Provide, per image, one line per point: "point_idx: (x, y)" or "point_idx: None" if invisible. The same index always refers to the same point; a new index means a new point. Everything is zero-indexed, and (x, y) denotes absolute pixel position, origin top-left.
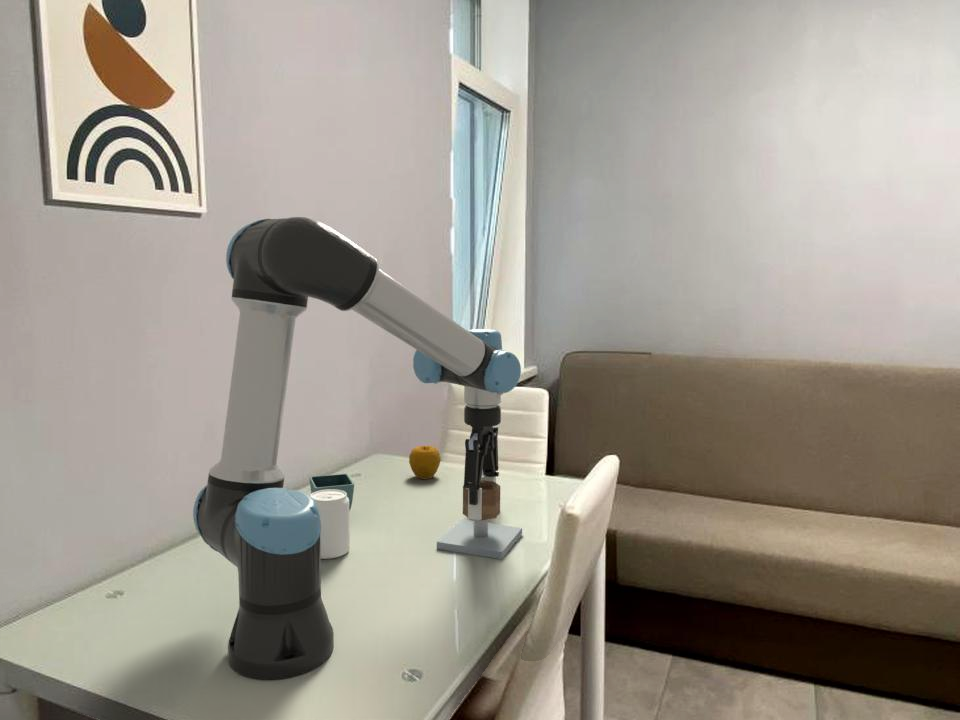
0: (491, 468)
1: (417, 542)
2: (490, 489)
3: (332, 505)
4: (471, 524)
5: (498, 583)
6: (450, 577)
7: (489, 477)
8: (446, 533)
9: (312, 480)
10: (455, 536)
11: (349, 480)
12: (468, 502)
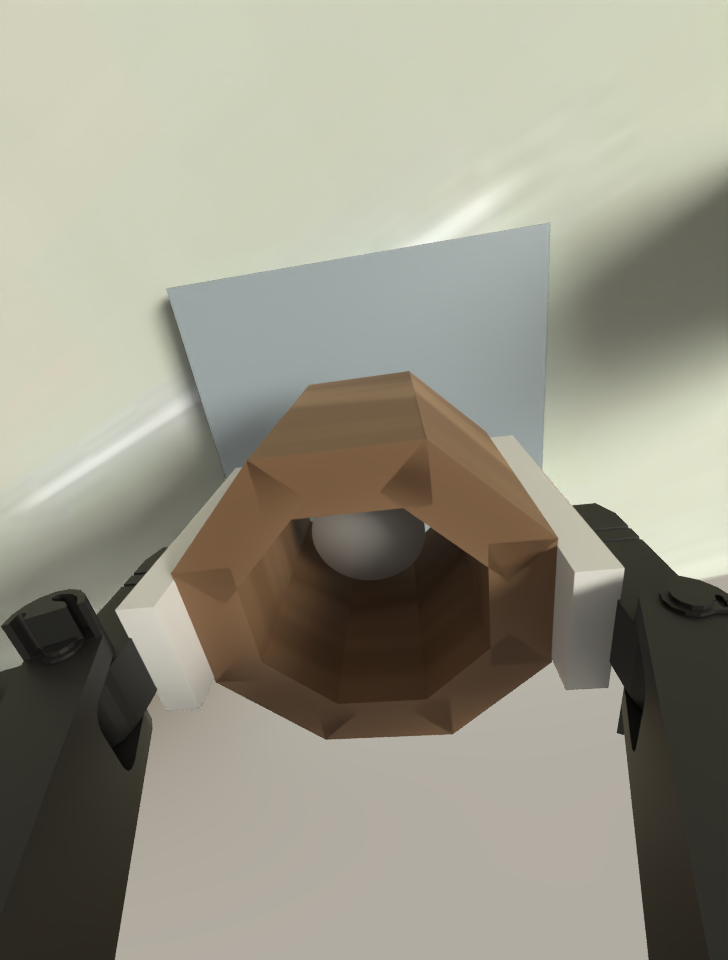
0: (634, 798)
1: (181, 125)
2: (316, 706)
3: None
4: (486, 328)
5: None
6: (26, 486)
7: (584, 649)
8: (292, 270)
9: None
10: (284, 341)
11: None
12: (189, 525)
